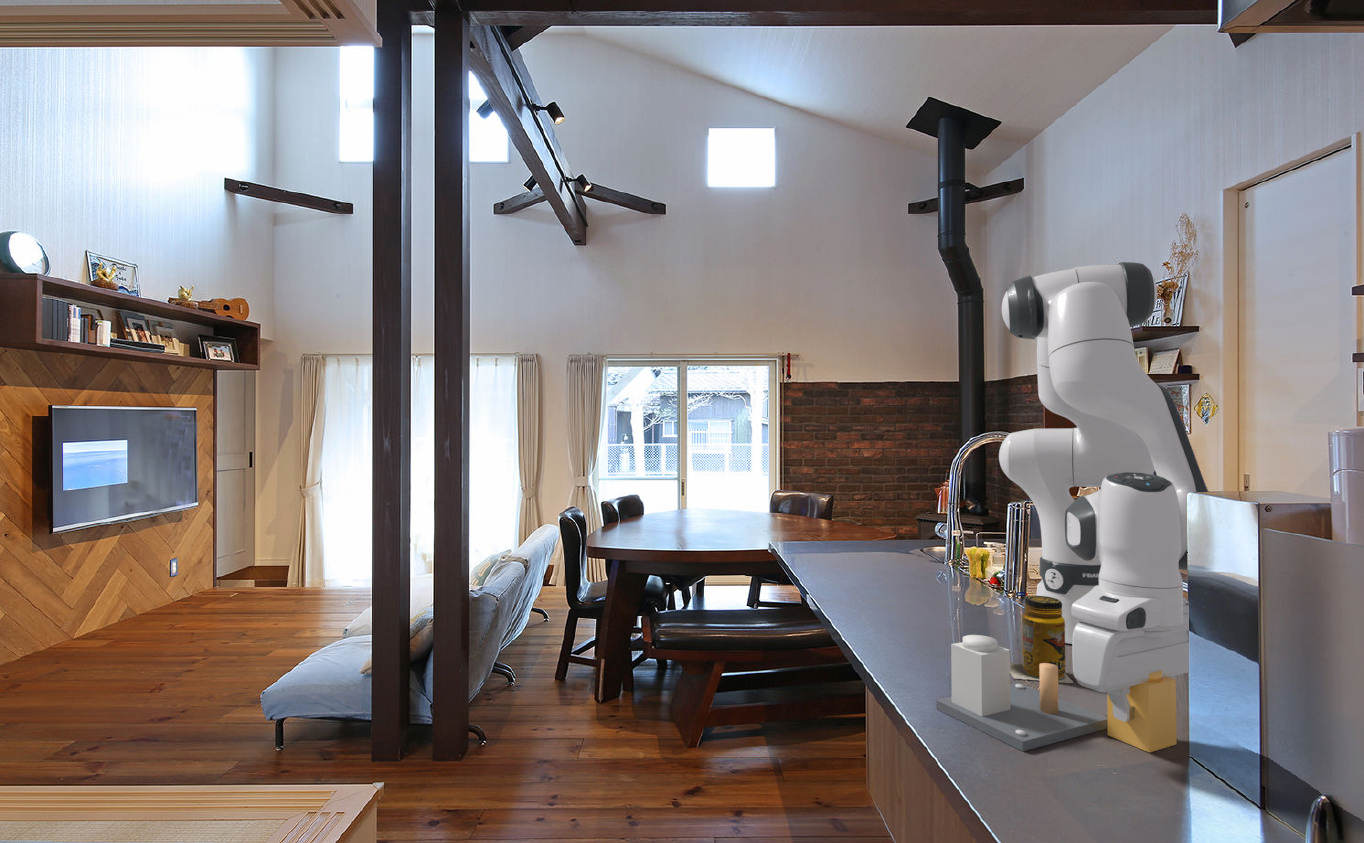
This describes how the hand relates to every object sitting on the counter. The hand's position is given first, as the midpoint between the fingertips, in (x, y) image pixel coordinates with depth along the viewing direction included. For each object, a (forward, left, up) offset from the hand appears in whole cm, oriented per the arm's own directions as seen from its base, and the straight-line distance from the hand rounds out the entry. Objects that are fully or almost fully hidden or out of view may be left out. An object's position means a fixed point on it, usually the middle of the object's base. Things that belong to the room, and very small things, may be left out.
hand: (1141, 714), depth 86 cm
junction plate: (+8, -11, -3) cm, 14 cm away
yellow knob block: (0, 0, -3) cm, 3 cm away
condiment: (-9, -22, -4) cm, 24 cm away
